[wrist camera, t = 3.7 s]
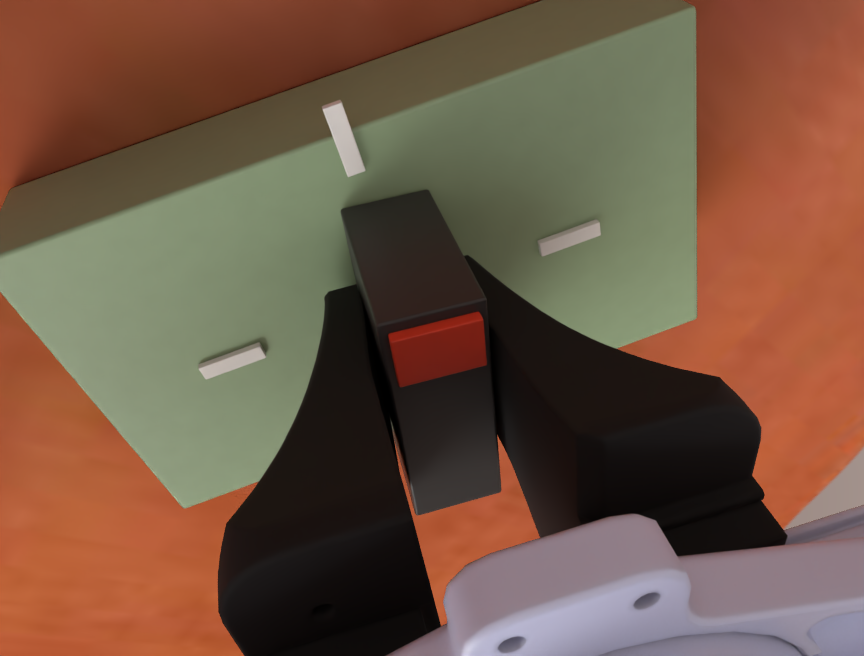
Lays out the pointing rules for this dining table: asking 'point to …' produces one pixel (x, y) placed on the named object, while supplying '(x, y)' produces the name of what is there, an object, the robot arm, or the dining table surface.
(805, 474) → the dining table surface
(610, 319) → the green toggle switch panel
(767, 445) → the dining table surface
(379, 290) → the grey box red tab
